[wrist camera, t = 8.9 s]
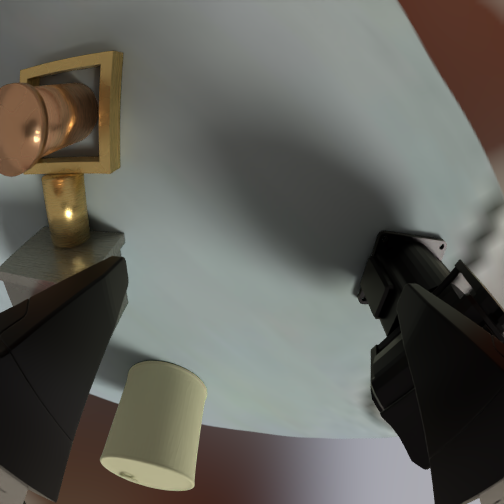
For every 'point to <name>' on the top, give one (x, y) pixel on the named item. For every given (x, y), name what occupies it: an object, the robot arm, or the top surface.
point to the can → (157, 427)
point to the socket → (107, 113)
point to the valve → (59, 242)
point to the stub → (42, 122)
